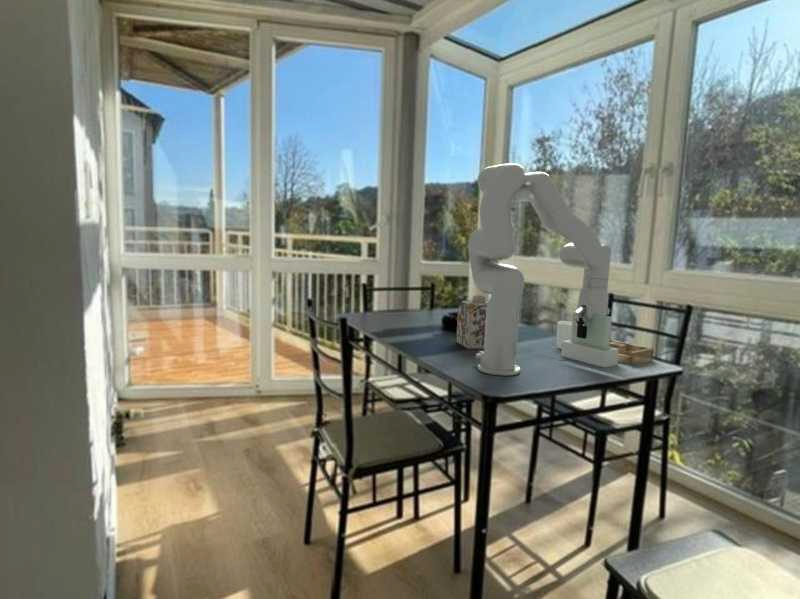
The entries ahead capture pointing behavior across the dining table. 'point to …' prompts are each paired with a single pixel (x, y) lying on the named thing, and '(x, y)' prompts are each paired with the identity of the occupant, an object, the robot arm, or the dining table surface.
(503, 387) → the dining table surface
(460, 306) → the decorative jar
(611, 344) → the offcut short
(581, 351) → the holder
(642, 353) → the rack
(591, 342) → the tall sheet
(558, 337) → the white cup
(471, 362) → the dining table surface
